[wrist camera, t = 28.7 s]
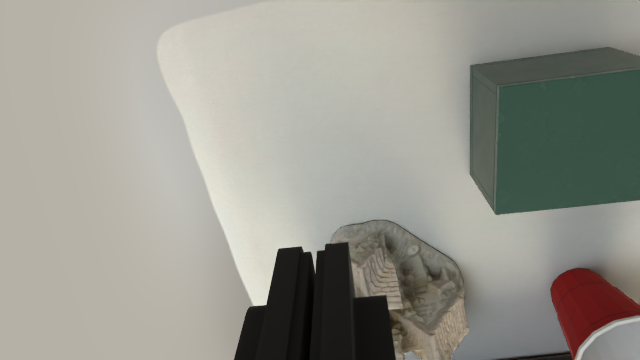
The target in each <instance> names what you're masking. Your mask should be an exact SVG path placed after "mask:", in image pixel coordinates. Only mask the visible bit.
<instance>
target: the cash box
mask: <svg viewBox="0 0 640 360" xmlns="http://www.w3.org/2000/svg"><path fill="white" fill-rule="evenodd" d="M518 360H573V359H572V356H571V354H564V355H555V356H546V357H536V358H527V359H518Z"/></svg>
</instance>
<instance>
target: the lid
mask: <svg viewBox="0 0 640 360" xmlns="http://www.w3.org/2000/svg"><path fill="white" fill-rule="evenodd" d="M636 200H640V67H637V68H629V69H621V70H613V71H605V72H598V73H590V74H582V75H574V76H566V77H558V78H551V79H543V80H535V81H527V82H519V83H511V84H504V85H497V104H496V139H495V174H494V208H493V211H494V213H495V214H496V215H500V214H510V213H520V212H529V211H539V210H549V209H558V208H568V207H578V206H588V205H597V204H607V203H617V202H626V201H636Z"/></svg>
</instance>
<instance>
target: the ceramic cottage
mask: <svg viewBox="0 0 640 360" xmlns="http://www.w3.org/2000/svg"><path fill="white" fill-rule="evenodd" d="M331 242H332V243H343V242H348V243H349V250H350V257H351V265H352V272H353V280H354V287H355V294H356V297H368V296H379V295H386V296H387V302H388V309H389V315H390V322H391V329H392V336H393V342H394V349H395V356H396V360H404V359H405V358H404V353H405V352H411V351H412V352H413V353H414V354H416V355H417V356H419V357H420V358H421V359H422V360H450V359H451V356H452V355H453V352H454V351H455V349H456V348H457V347H458V346H459V343H460V342H461V340H462V339H463V338H464V335H465V334H468V333H469V328H468V324H467V320H466V316H465V310H464V304H463V301H464V300H465V296H464V284H463V283H464V282H463V279H462V276H461V274H460V271H459V270H458V268H457V265H456V264H455V262H454V261H452V260H451V259H449V258H448V257H446V256H445V255H443V254H441V253H440V252H438V251H436V250H435V249H434V248H432V247H430V246H429V245H426V243H425V242H422V241H420V240H419V239H418V238H416V237H414V236H413V235H412V234H411V233H408V231H406V230H405V229H403V228H401V227H400V226H399V225H397V224H394V223H391V222H388V221H385V220H379V221H374V220H373V221H371V222H370V221H369V222H365V223H364V224H357V225H356V224H353V225H350V226H348V225H347V226H345V227H340V230H338V231H337V232H336V233H335V234H334V235H333V238H332V240H331ZM332 243H331V244H332Z"/></svg>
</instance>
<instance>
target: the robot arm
mask: <svg viewBox="0 0 640 360" xmlns="http://www.w3.org/2000/svg"><path fill="white" fill-rule="evenodd" d="M234 360H396V356H395V349H394V342H393V336H392V329H391V322H390V315H389V309H388V302H387V296H386V295H379V296H368V297H356V294H355V287H354V280H353V272H352V265H351V257H350V250H349V243H348V242H343V243H332V244H326V245H325V250H323V251H317V260H316V274H315V270H314V264H313V259H312V254H311V252H303V249H302V247H292V248H282V249H278V252H277V257H276V262H275V267H274V271H273V276H272V281H271V286H270V291H269V295H268V300H267V305H264V306H253V307H249V308H248V310H247V313H246V316H245V320H244V324H243V328H242V331H241V335H240V339H239V343H238V347H237V350H236V354H235V358H234Z"/></svg>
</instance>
